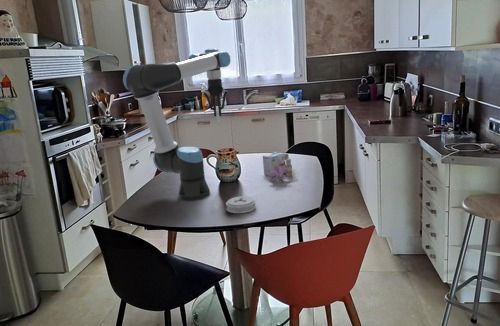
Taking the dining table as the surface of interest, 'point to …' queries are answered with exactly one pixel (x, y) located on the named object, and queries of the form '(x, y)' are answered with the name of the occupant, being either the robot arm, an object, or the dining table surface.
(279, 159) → the light bulb box
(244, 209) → the lid
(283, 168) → the lily
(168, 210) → the dining table surface
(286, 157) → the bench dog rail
